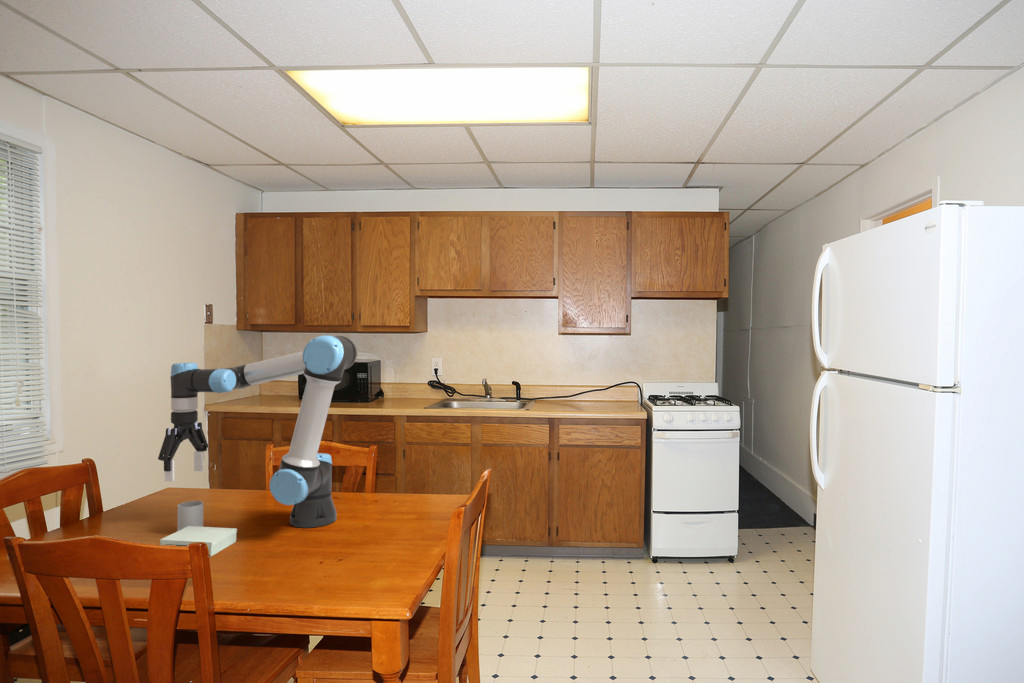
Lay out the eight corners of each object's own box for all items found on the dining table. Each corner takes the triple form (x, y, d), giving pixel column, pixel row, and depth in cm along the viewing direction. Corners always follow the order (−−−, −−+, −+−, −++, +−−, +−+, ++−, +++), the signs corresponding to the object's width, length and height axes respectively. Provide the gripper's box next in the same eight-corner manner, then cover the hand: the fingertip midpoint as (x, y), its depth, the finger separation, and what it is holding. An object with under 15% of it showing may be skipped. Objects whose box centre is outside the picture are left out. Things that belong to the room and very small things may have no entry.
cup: (181, 537, 177) (182, 508, 177) (171, 529, 184) (171, 502, 184) (206, 531, 183) (206, 503, 183) (195, 524, 189) (195, 497, 189)
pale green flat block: (236, 541, 174) (236, 528, 174) (211, 556, 162) (211, 542, 162) (188, 538, 176) (188, 526, 176) (160, 553, 164) (160, 539, 164)
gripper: (199, 405, 196) (199, 466, 197) (144, 415, 172) (144, 485, 172) (219, 406, 196) (219, 467, 196) (167, 415, 171) (167, 486, 171)
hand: (184, 476), depth 184 cm, fingers open, 13 cm apart
